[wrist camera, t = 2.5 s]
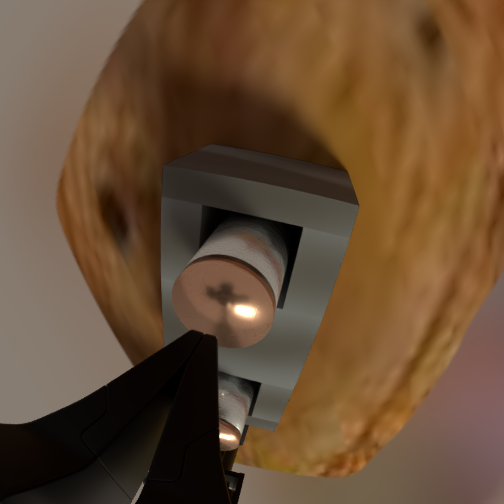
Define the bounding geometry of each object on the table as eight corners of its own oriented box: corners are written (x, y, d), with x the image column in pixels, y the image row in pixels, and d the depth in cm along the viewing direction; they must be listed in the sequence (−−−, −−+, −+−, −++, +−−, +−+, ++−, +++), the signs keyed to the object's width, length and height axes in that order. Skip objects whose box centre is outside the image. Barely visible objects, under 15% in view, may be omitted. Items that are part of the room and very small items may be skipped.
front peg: (283, 279, 16) (263, 357, 11) (215, 263, 16) (172, 332, 11) (298, 214, 14) (283, 279, 9) (222, 198, 14) (171, 251, 10)
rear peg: (254, 391, 21) (235, 455, 16) (206, 378, 21) (179, 439, 16) (262, 360, 19) (242, 432, 14) (208, 346, 19) (177, 413, 14)
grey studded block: (286, 372, 25) (274, 431, 19) (196, 348, 26) (169, 401, 20) (347, 171, 16) (359, 205, 11) (211, 144, 17) (163, 165, 12)
